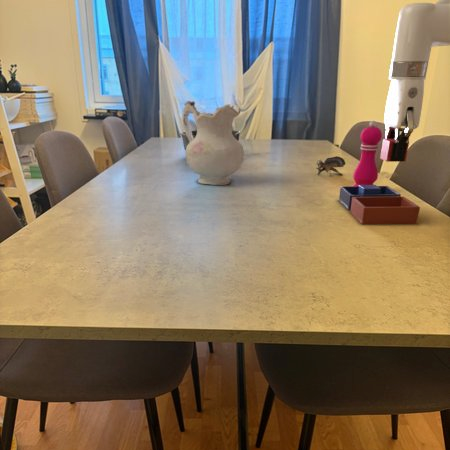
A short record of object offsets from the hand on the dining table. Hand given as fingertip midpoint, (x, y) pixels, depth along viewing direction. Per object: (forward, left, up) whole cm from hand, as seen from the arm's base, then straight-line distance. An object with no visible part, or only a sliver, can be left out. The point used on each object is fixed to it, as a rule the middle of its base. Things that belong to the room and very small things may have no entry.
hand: (392, 158), depth 102 cm
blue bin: (+1, -11, -14) cm, 18 cm away
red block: (0, 0, 0) cm, 0 cm away
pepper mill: (-3, -28, -14) cm, 31 cm away
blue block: (+1, -11, -14) cm, 17 cm away
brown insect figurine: (+2, -52, -14) cm, 54 cm away
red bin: (+1, +1, -14) cm, 14 cm away
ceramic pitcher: (+44, -44, -14) cm, 63 cm away
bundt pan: (+45, -96, -14) cm, 107 cm away
